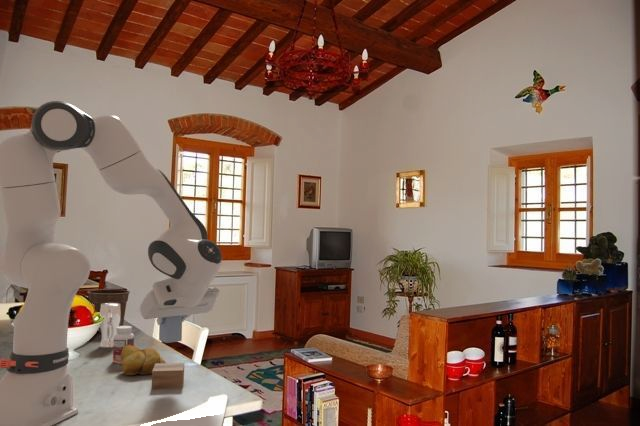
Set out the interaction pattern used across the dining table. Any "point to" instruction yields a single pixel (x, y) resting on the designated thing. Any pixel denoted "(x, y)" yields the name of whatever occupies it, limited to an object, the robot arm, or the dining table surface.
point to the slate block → (171, 329)
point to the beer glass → (109, 323)
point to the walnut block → (167, 375)
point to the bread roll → (139, 360)
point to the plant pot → (109, 300)
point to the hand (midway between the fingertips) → (169, 321)
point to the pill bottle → (121, 342)
